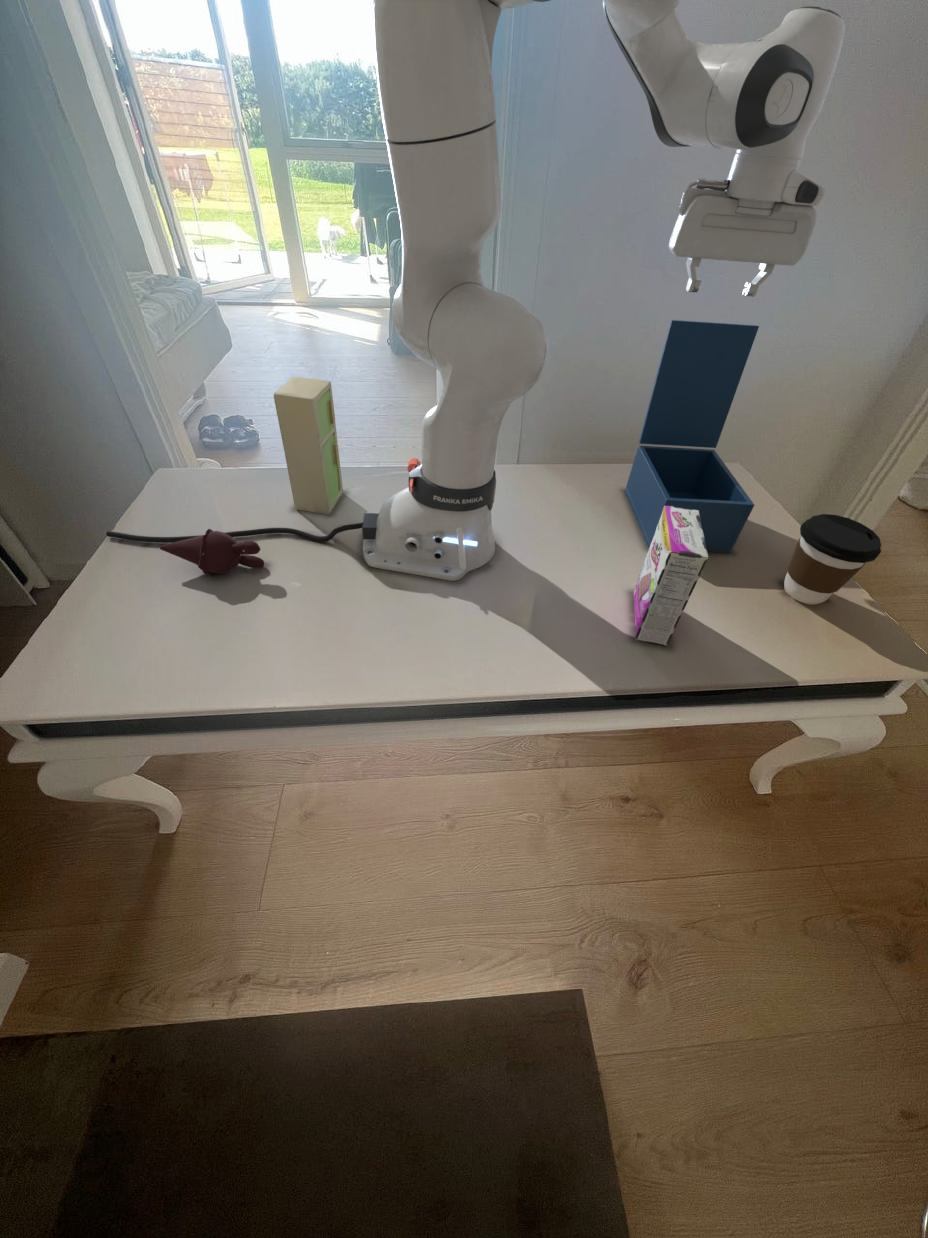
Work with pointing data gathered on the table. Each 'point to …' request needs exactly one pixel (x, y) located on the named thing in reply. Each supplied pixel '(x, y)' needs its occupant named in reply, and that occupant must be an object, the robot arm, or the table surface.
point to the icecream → (216, 552)
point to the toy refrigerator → (310, 443)
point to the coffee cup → (828, 557)
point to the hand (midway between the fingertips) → (719, 293)
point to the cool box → (688, 492)
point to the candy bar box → (669, 574)
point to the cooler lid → (696, 382)
